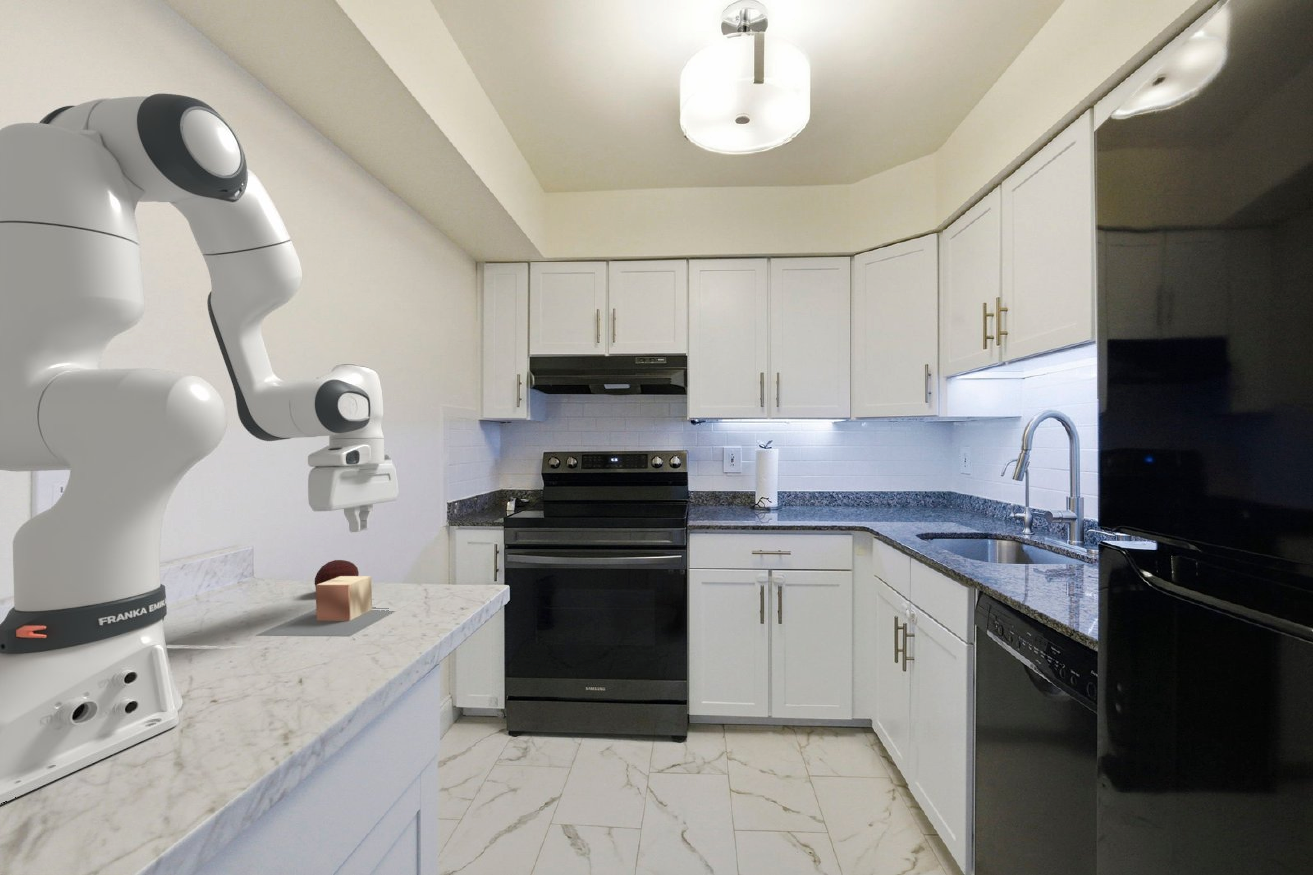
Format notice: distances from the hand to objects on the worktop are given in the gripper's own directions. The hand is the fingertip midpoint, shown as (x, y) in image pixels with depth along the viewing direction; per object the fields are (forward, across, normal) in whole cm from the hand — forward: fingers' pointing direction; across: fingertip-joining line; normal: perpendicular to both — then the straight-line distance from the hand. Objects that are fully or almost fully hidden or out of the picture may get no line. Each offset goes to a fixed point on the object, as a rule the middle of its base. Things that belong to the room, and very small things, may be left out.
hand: (359, 531), depth 99 cm
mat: (+14, +4, 0) cm, 15 cm away
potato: (+14, -10, -12) cm, 21 cm away
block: (+11, +1, 0) cm, 11 cm away
